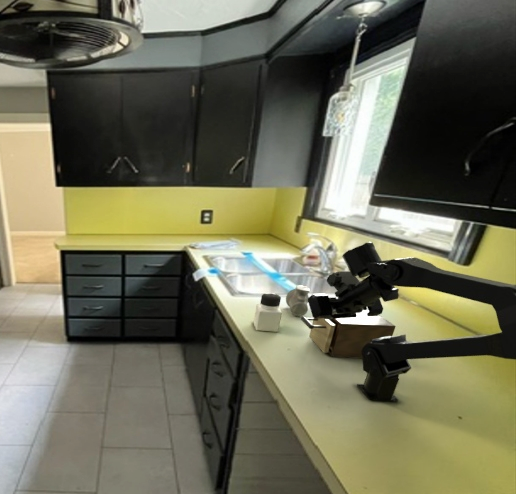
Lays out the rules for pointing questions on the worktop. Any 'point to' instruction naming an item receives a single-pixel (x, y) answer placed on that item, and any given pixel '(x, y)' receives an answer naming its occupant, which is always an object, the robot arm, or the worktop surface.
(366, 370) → the robot arm
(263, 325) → the medicine bottle
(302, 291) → the pipe fitting
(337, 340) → the cabinet
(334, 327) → the drawer
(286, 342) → the worktop surface
